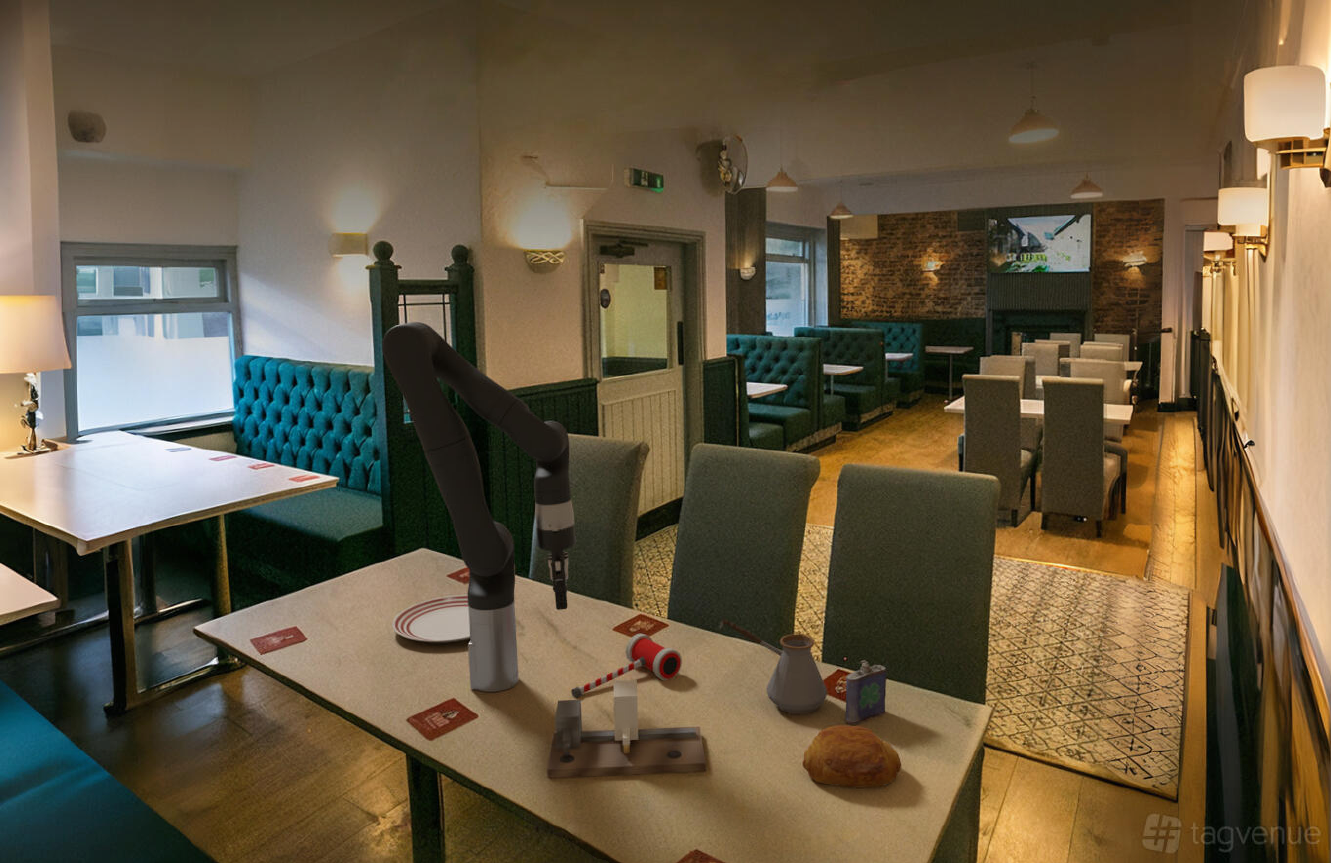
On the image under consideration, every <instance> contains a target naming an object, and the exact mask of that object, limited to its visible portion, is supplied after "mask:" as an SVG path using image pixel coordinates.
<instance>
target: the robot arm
mask: <svg viewBox="0 0 1331 863" xmlns="http://www.w3.org/2000/svg"><path fill="white" fill-rule="evenodd" d="M382 339H383V340H382V343H381V344H382V345H381V346H382V348H381V349H382V353H383V354H382V355H383V358H384V360H385V362H386V365H387V367H388V369H389V370H390V372H391V373H390V374H391V375H392V377H393V378H394V380H395V382H396V384H397V386H398V388H399V390H400V392H401V395H402V396H403V398H404V401H405V403H406V407H407V408H408V410H409V414H410V416H411V420H412V423H413V425H414V427H415V428H414V429H415V430H416V433H417V436H418V438H419V441H420V444H421V447H422V450H423V452H424V456H425V458H426V460H427V462H428V466H429V468H430V470H431V472H432V475H433V477H434V479H435V483H436V485H437V488H438V489H439V492H440V495H441V496H442V497H441V498H442V499H443V501H444V503H445V505H446V507H447V510H448V512H449V516H450V518H451V521H452V524H453V528H454V532H455V536H456V539H457V544H458V547H459V551H460V555H461V557H462V558H461V559H462V561H463V563H464V564H465V566H466V567H467V569H468V572H469V576H468V577H469V578H468V587H467V594H466V595H467V597H468V611H469V628H470V638H469V642H468V646H467V650H468V663H469V664H468V667H469V670H468V671H469V684H470V685H469V686H470V689H471V690H477V691H481V692H486V693H487V692H488V693H491V692H492V693H493V692H494V693H495V692H502V691H505V690H509V689H512V687H514V686H516V684H518V682H519V662H518V660H519V659H518V643H517V640H518V639H517V624H516V623H517V622H516V606H515V605H516V603H515V602H516V601H515V586H516V585H515V584H516V567H515V566H516V565H515V560H516V559H515V545H514V544H515V543H514V539H513V535H512V533H511V531H510V530H509V529H508V528H507V526H505V525H504V524H502V523H501V522H499V521H498V522H497V521H494V519H493V517H492V515H491V512H490V511H489V506H488V505H487V501H486V498H485V491H484V484H483V477H482V471H481V465H480V461H479V457H478V454H477V450H476V448H475V445H474V442H473V440H472V437H471V435H470V432H469V430H468V427H467V425H466V424H465V422H464V420H463V419H462V418H461V416H460V415H459V413H458V412H457V410H456V409H455V408H454V406H453V404H451V402H450V401H449V400H448V398H447V397H446V395H445V393H444V392H443V389H442V388H441V386H440V385H441V384H440V382H439V380H441V382H443V383H445V384H446V385H448V386H449V387H450V388H451V389H452V390H454V391H455V393H457V394H458V396H459V397H460V398H461V399H462V400H463V401H464V402H465V403H466V404H467V405H468V406H469V407H470V408H471V409H472V410H473V411H474V412H475V413H476V414H477V415H479V416H480V417H481V418H482V419H484V420H485V421H487V422H488V423H490V424H491V425H493V426H494V427H496V428H497V429H498V430H500V431H501V432H504V433H505V434H506V435H507V436H508V437H509V438H510V439H511V441H513V442H514V443H515V444H516V445H517V446H518V447H519V448H521V450H523V451H524V452H525V453H526V454H528V455H529V457H532V458H533V459H535V465H536V469H535V475H534V477H533V478H534V479H533V488H534V489H533V490H534V492H533V493H534V500H535V501H534V503H535V507H534V508H535V510H534V518H535V527H536V529H535V531H536V539H537V547H538V548H539V549H540V550H542V551H546V552H547V551H549V552H550V553H548V555H547V556H548V558H547V563H548V567H549V575H550V580H551V581H552V586H553V587H552V590H553V592H554V597H555V608H556V610H558V611H560V610H566V609H567V608H568V597H567V594H568V585H567V580H568V579H569V552H565V550H566V549H570V548H572V547H574V546H575V545H576V542H577V539H576V527H575V525H576V524H575V512H574V507H573V504H572V494H571V493H572V492H571V483H570V476H569V475H570V474H569V473H570V472H569V470H570V468H569V467H570V441H569V434H568V431H567V429H566V428H565V427H564V426H563V424H561V423H560V422H558V421H555V420H546V421H543V420H542V419H540V418H539V417H538V416H537V415H535V414H534V413H533V412H531V410H530V407H529V406H528V405H527V403H525V402H524V401H523V400H522V399H521V398H519V397H518V396H516V395H514V393H512V392H510V391H509V390H507V389H506V388H504V387H503V386H501V385H500V384H499V383H497V382H496V381H494V380H493V379H491V377H489V376H488V375H486V374H484V373H483V372H482V371H481V370H480V369H478V368H477V367H475V366H474V365H473V364H471V362H469V361H468V360H467V359H465V358H464V357H463V356H462V355H461V354H460V353H459V352H458V351H456V350H455V348H453V347H452V346H451V345H450V344H449V343H448V342H447V341H446V340H445V339H444V338H443V337H442V336H441V335H440V334H439V333H438V332H437V331H436V330H435V329H433V327H431V326H430V325H429V324H426V323H424V322H422V321H421V322H420V321H411V322H410V321H409V322H405V323H400V324H398V325H397V324H396V325H394V326H393V327H391V328H389V329H388V330H387V331H386V333H384V336H383V338H382ZM438 379H439V380H438Z"/></svg>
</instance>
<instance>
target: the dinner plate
mask: <svg viewBox="0 0 1331 863" xmlns="http://www.w3.org/2000/svg"><path fill="white" fill-rule="evenodd" d="M391 627H392V629H393V631H394V632H395V633H396V634H398V635H399V636H400V637H403V638H405V639H408V640H413V641H419V642H424V643H452V641H453V642H459V640H460V641H464V640H470V628H469V611H468V597H467V594H459V595H458V594H456V595H447V596H440V597H436V598H431V599H427V600H425V601H420V602H418V603H415V604H413V605H411V606H410V605H409V607H407V608H405V609H403V610H402V611H400V612H399V613H398V614H396V616H395V617H394V618H393V620H392V624H391Z"/></svg>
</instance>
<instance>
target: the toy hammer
mask: <svg viewBox="0 0 1331 863" xmlns="http://www.w3.org/2000/svg"><path fill="white" fill-rule="evenodd" d="M625 656H626V659H627V660H628V661H629V662H630V663H629V664H626V665H625V666H622V667H621V668H618V669H616V670H614V671H612V672H610V673H608V674H605V675H602V677H599V678H597V679H595V680H593V681H591V682H588V683H586V684H584V685H582V686H580V687H578V686H576V687H573V688H572V689H571V696H573V698H576V699H578V698H581V697H582V695H583V694H585V693H586V692H589V691H591V690H594V689H595V688H597V687H599V686H601V685H604V684H606V683H608V682H610V681H612V680H615V679H616V678H619V677H620V676H623V675H625V674H627V673H629V672H632V671H634V670H636V669H638V668H640V667H641V668H642V667H644V668H646V669H648V670H650V671H652V672H653V673H654V675H655V676H656V677H657V678H659V679H660V680H663V681H666V680H669V679H672V678H675V677H676V676H677V675H678V674H679V673H680V670H681V668H682V664H683V659H682V655H681V654H680V652H679V651H677V650H675V649H674V648H671V647H664V646H663V645H660V644H659V643H656V642H654V641H653V639H652V638H651V636H648V635H646V634H644V633H637V634H635V635H633V636H632V637H631V638H629V641H627V644H626V647H625Z"/></svg>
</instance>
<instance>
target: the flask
mask: <svg viewBox="0 0 1331 863" xmlns="http://www.w3.org/2000/svg"><path fill="white" fill-rule="evenodd" d="M860 663H861V667H860V669H858V670H856V671H853V672H851V673H850V674H847V675H846V676H845V682H846V683H845V684H846V685H845V716H844V717H845V718H844V719H845V720H844V721H845V723H846V724H848V725H850V726H853V725H859V724H860V723H863V722H867V721H870V720H871V719H872V718H873V719H874V718H876V717H880V716H883V715H885V713H886V696H887V694H886V692H887V690H886V687H887V671H888V670H887V667H886V666H883V665H880V664H878V665H877V664H874V665H872V666H870V664H869V663H868V661H866V660H865V659H864V660H861V661H860Z"/></svg>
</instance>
